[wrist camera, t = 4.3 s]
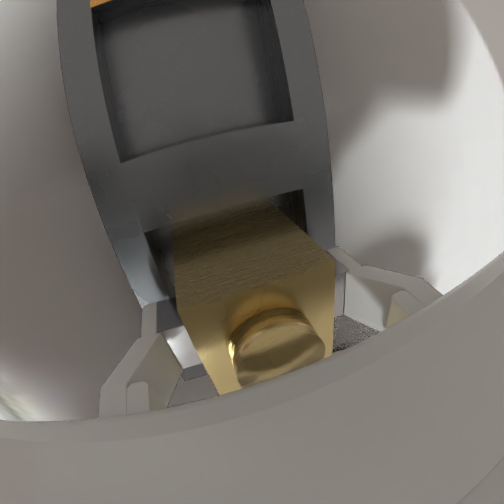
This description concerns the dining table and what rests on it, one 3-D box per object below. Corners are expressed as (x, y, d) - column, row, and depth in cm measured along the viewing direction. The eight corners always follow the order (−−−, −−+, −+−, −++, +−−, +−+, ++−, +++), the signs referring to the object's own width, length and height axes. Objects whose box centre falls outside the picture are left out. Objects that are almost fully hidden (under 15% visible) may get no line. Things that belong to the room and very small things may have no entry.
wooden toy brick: (281, 280, 13) (345, 377, 8) (199, 306, 12) (227, 420, 7) (269, 201, 11) (356, 281, 6) (171, 228, 10) (180, 340, 5)
